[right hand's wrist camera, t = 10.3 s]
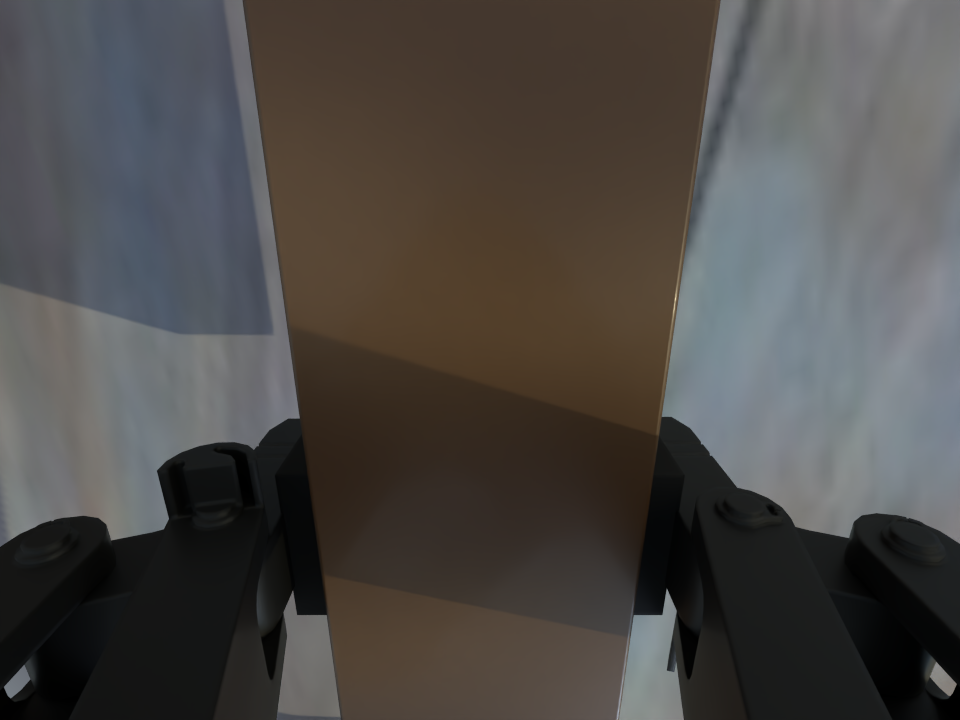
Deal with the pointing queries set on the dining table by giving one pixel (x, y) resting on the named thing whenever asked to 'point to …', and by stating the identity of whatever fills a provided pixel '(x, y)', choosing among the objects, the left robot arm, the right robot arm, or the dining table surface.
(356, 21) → the post
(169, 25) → the dining table surface
